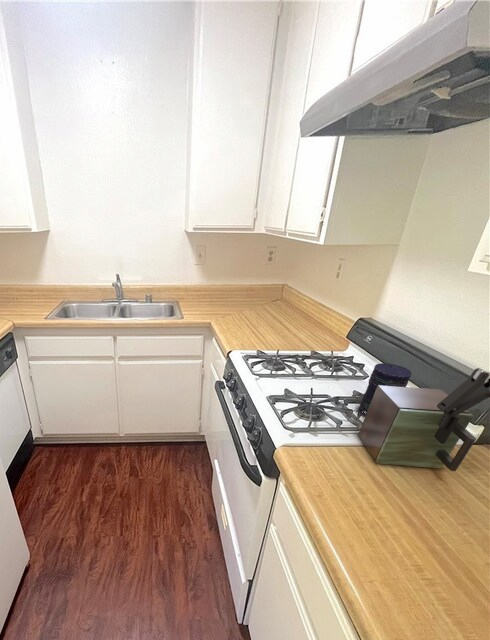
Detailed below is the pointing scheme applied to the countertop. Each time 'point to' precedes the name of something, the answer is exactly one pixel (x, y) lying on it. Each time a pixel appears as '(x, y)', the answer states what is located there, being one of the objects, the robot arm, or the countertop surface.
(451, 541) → the countertop surface
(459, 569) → the countertop surface
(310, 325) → the countertop surface
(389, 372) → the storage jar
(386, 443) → the door
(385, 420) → the cupboard
